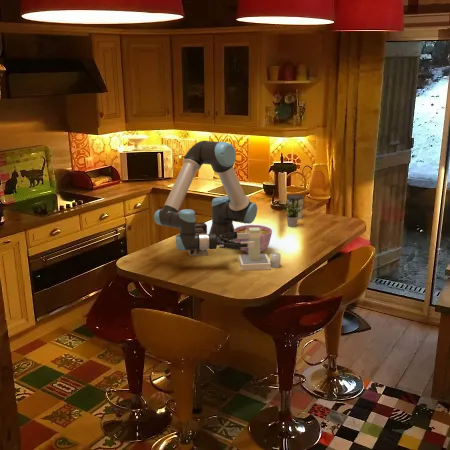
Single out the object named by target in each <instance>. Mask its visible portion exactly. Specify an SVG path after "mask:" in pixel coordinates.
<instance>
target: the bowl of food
mask: <svg viewBox="0 0 450 450" xmlns="http://www.w3.org/2000/svg"><path fill="white" fill-rule="evenodd" d="M254 227H259V229H260V253H261V252H263V251H265V250H266V249H268V246H270V245H269V244H270V241H271V238H272V234H273V229H272V228H271V227H268V226H265V225H258V224H249V225H248V224H244V225H241V226H238V227H236V228H235V227H234V232H237V233H248V230H249V228H254ZM235 242H238V243H240V242H249V239H237V238H236V239H235ZM241 251H243V252H245V253H246V254H248V248H241Z"/></svg>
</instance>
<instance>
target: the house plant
mask: <svg viewBox="0 0 450 450" xmlns="http://www.w3.org/2000/svg"><path fill="white" fill-rule="evenodd" d="M297 202H298V201H297ZM297 202H296V201H295V204H294V206H293V203H292V200H291V203H292V204H291V207H290V204H289V203H288V202H287V200H286V204H285V203H283V205H284V206H285V207H286V209H282V211H283V212H286V213H287V212H288V213H289V215H287V214H286V222H287V227H289V228H296V227H297V225H298V221H299V219H298V216H297V214H298V213H297V212H301V210H300V209H298V208H299V207H300V206H301V204H300V205H299V206H297V207H296V205H297ZM287 204H288V206H287ZM302 204H303V205H304V202H303V203H302ZM287 208H288V210H287ZM295 208H296V209H295ZM296 213H297V214H296ZM301 213H302V214H303V211H302V212H301Z"/></svg>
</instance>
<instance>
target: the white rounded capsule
mask: <svg viewBox="0 0 450 450" xmlns="http://www.w3.org/2000/svg"><path fill="white" fill-rule="evenodd" d="M269 257H270V258H269V261H270V263H271V268H273V269H279V268H280V267H281V262H282V261H281V253H279V252H272V253H271V252H270V254H269Z"/></svg>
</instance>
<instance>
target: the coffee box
mask: <svg viewBox="0 0 450 450" xmlns="http://www.w3.org/2000/svg"><path fill="white" fill-rule="evenodd" d="M195 223H196V234H207V235H208V225H207V224H206V223H205V222H195ZM187 251H188V252H187V253H188V255H189V256H190V257H199V255H200V256H207V255H208V249H204V250H203V251H202V250H187Z"/></svg>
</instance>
